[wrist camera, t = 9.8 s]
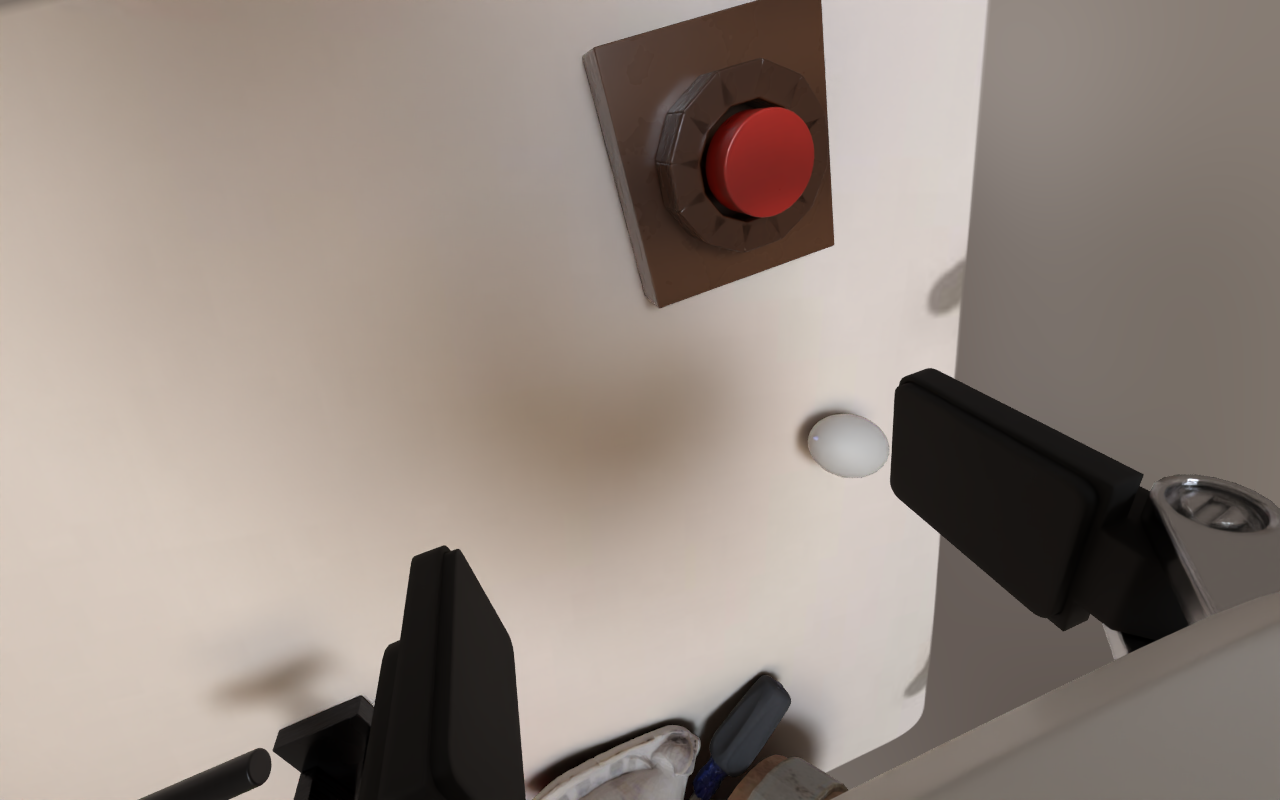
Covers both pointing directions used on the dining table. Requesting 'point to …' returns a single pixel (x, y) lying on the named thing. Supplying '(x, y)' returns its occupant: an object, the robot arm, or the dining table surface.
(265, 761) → the lever
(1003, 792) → the robot arm
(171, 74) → the dining table surface
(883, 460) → the egg
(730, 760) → the screwdriver
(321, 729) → the bracket
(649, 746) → the seashell
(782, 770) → the landmine
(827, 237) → the button block
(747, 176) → the button
